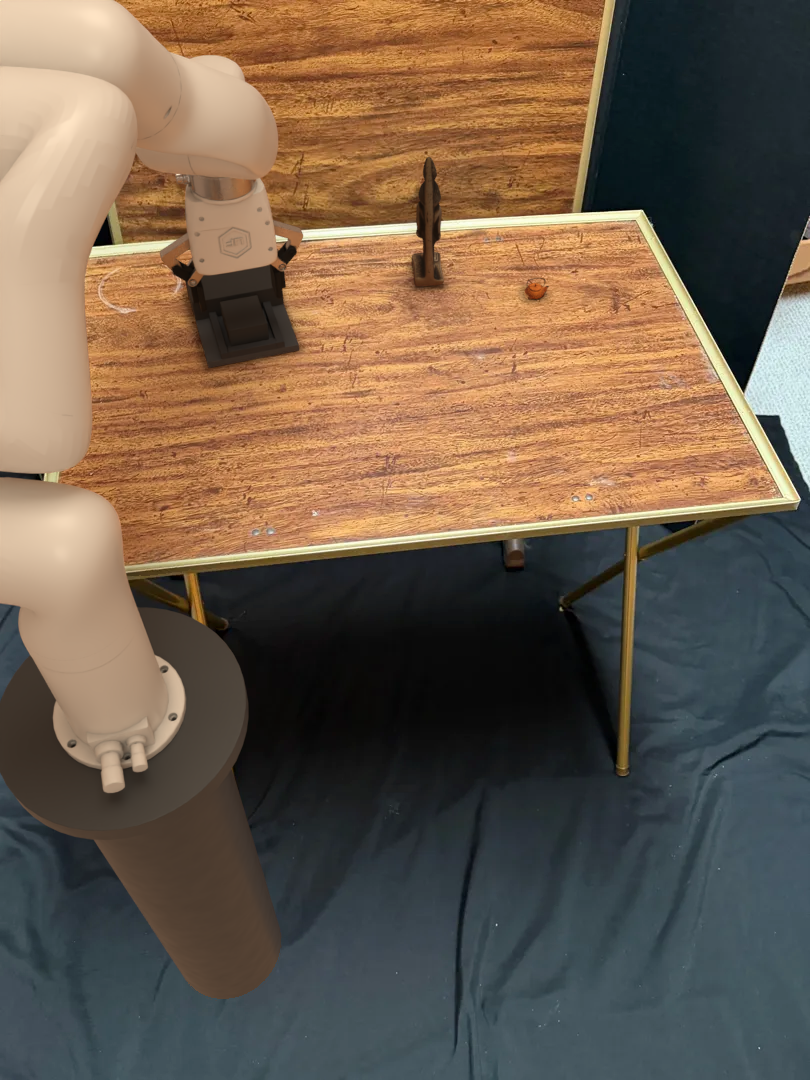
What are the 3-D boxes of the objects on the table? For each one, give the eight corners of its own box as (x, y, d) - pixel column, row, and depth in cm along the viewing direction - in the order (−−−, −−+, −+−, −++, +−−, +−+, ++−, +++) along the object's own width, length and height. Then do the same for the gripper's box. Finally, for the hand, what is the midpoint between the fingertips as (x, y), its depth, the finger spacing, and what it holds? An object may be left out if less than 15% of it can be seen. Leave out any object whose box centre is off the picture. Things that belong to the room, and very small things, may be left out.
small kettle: (529, 285, 136) (532, 269, 134) (548, 292, 135) (551, 276, 133) (520, 296, 135) (522, 280, 133) (539, 303, 134) (542, 288, 132)
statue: (439, 260, 139) (446, 128, 124) (445, 291, 135) (452, 159, 119) (410, 261, 139) (413, 129, 123) (415, 292, 135) (418, 160, 119)
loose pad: (269, 341, 127) (267, 323, 124) (231, 348, 126) (228, 330, 124) (259, 312, 130) (257, 294, 128) (222, 319, 129) (219, 301, 127)
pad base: (299, 350, 127) (297, 326, 124) (208, 368, 125) (203, 344, 122) (272, 277, 137) (269, 253, 133) (187, 292, 134) (182, 268, 131)
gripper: (150, 205, 106) (176, 329, 120) (304, 181, 110) (313, 304, 123) (141, 169, 111) (167, 293, 124) (289, 147, 114) (299, 270, 127)
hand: (240, 298), depth 124 cm, fingers open, 9 cm apart
